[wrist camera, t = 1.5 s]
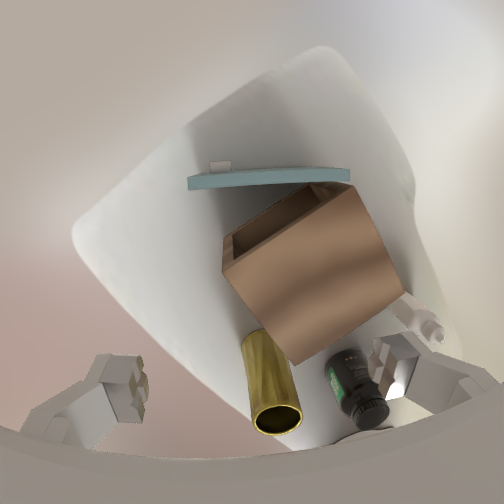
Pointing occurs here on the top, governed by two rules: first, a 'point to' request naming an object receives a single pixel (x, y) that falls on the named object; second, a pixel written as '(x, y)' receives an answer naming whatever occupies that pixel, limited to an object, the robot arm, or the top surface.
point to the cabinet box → (311, 268)
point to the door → (263, 176)
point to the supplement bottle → (356, 389)
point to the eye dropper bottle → (417, 318)
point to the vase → (270, 386)
